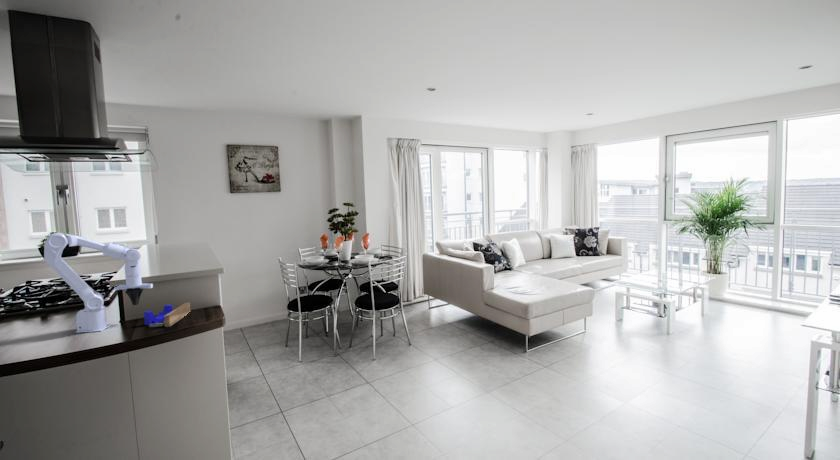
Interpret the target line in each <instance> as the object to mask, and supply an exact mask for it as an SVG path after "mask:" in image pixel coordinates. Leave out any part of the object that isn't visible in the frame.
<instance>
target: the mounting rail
mask: <svg viewBox="0 0 840 460" xmlns="http://www.w3.org/2000/svg"><path fill="white" fill-rule="evenodd" d="M155 327H156V328H157V327H165V320H164V321H162V322H158V323H151V324H149V325H148V328H155Z"/></svg>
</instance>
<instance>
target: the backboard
mask: <svg viewBox="0 0 840 460" xmlns="http://www.w3.org/2000/svg"><path fill="white" fill-rule="evenodd" d="M189 312H192V311H191V302H184V303H183V304H181V305H179V306H178V307H176V308H175V309H172V311H171V312H170V313H168V314H166V315H165V316H164V319H165V320H164V321H165V326H164V327H165V328H168V327H169V328H171V327H172V326H173V325H175V324H176V323H178V322H179V321H180V320H182V319H183V318H184V316H185V317H186V316H187V314H188V313H189ZM189 314H190V313H189ZM189 314H188V315H189Z"/></svg>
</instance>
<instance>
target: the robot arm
mask: <svg viewBox="0 0 840 460" xmlns="http://www.w3.org/2000/svg"><path fill="white" fill-rule="evenodd" d="M67 245H68V247H77V246H78V247H79V246H80V247H84V248H88V249H92V250H96V251H101V252H102V254H103V255H104V256H108V257H111V258H114V259H119V260H124V274H125V277H124V278H125V284H126V285H125V284H118V285H119V286H117V285H116V286H117V287H115V286H114V289H115V291H121V290H126V291H125V294H126V295H127V296H128V298H129V299H130V301H131V303H132V304H131V305H133V306H137V305H139V304H140V299H141V295H142V293H143V292H144V289H153V288H154V283H147V282H146V283H143V281H142V270H141V269H142V268H141V264H140V262H141V260H140V259H141V254H140V252H139V251H138V250H137V249H135V248H134V247H130V246H128V245H127V246H124V245H121V244H118V242H115V241H113V242H111V241H110V242H107V243H103V242H100V241H99V242H98V241H96V240H93V239H89V238H86V237H84V236H83V237H82V236H81V235H75V234H71V233H66V234H65V233H63V232H60V231H59V232H53V233H51V234H49V236H48V237H47V238H46V240H45V241H44V245H43V248H44V250H43V253H44V254H43V257H44V262H45V263H46V264H47V265H48V266H50V268H51V269H52V270H53V271H54V272H55V273H56V274H57V275H58V276H59V277H60V278H61V280H63V281H64V283H66V285H68V286H69V287H70V288H71V289H72V290H73V291H74V292H75V293H76V294H77V295H78V296H79V298H80V299H81V300H82V301H83V304H84V308H83V309H80V310H79V311H77V313H76V315H75V321H76V322H75V323H76V331H75V333H76V334H77V333H80V334H81V333H93V332H94V333H95V332H102V331H104V330H106V329H108V328H109V327H112V326H113V324H112V323H111V324H110V323H109V324H108V322H107V312H106V311H107V308H106V306H105V305H104V303H105V301H104V296H103V294H102V293H100V292H98V291H95V289H93V288H92V287H91V286H90V285H89V284H88V283H87V282H86V281H85V280H84V279H83V278H82V277H81V276H80V275H79V274H78V273H77V272H76V270H74V269H73V268H72V267H71V265H69V264H68V263H67V261H66V260H65V259H64V258H62V255H63V251H64V249H65V248H66V247H67Z"/></svg>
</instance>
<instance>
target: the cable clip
mask: <svg viewBox="0 0 840 460" xmlns="http://www.w3.org/2000/svg"><path fill="white" fill-rule="evenodd" d="M171 311H173V304H164V305H163V309H162V311H160V312H159V313H158V314H157V315H156V316H155V315H154V311H144V312H143V315H144V325H145V326H149V324H151V323H162V322H163V321H165V319H164V316H165V315H166V314H168V313H170V312H171Z"/></svg>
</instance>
